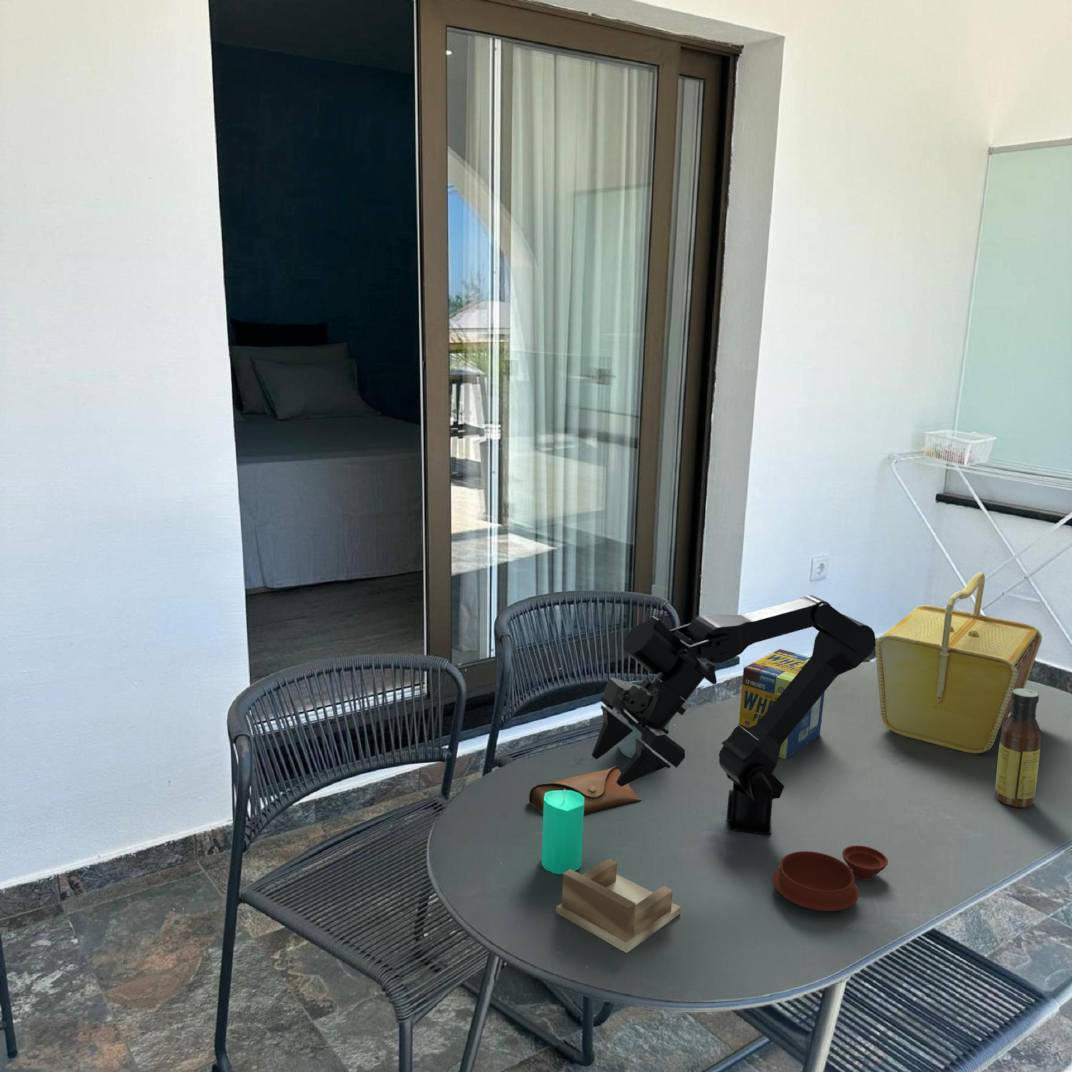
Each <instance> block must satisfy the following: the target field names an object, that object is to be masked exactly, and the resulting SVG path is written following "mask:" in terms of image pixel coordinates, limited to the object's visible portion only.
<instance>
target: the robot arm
mask: <svg viewBox="0 0 1072 1072" xmlns="http://www.w3.org/2000/svg"><path fill="white" fill-rule="evenodd" d="M810 628H814V629H815V630H816V631H818V633H817V634H816V636H815V638H814V641H813V648H812V654H811V656H810V659H809V660H808V662H807V663H806V664H805V665H804V666H803V668H802V669H801V670H800V671H799V673H798V674H797V675H796V676H795V677H794V679H793V680H792V681H791V682H790V684H789V685H788V686H787V687H786V689H785V690H784V691H783V692H782V693H781V695H780V696H779V697H778V698H777V700H776V701H775V702H774V703H773V704H772V706H771V707H770V708H769V709H768V711H767V712H766V713H765V714H764V715H763V717H762V718H761V719H760V720H759V722H758V723H757V724H756V725H754V726H752V727H750V728H747V729H744V728H743V727H741V726H740V725H739V724H738V725H736V727H735V728H733V730H732V732H731V734H730V735H729V737H727V738H726V739H725V740H723V741H722V742H721V744H722V747H721V748H720V751H719V753H718V757H719V760H718V762H719V766H720V768H721V769H722V770H723V772H725V775H726V777H727V779H729V780H730V781H732V782H733V784H732V789H729V790H728V798H727V799H728V800H727V812H726V820H727V821H729V822H728V828H729V830H732V831H740V832H747V833H753V834H761V835H771V833H772V825H771V824H772V811H773V810H772V809H773V800H774V799H776V800H777V799H780V798H781V796H782V793H783V791H784V789H785V785H784V784H783V783H782V782H781V781H780V780H779V779H778V778H777V777H776V775H774V774H773V773H774V771H775V769H776V768H777V766H778V763H779V758H780V757H779V754H780V748H781V745H782V744H783V742H784V741H785V740H786V739H787V737H788V736H789V735H790V734H791V732H792V731H793V730H794V729H795V727H796V726H797V725H798V724H799V723H800V721H801V720H802V719H803V718H804V716H805V715H806V714H807V713H808V711H809V710H810V709H811V708H812V707H813V705H814V704H815V703H816V702H817V700H818V699H819V698H820V697H821V695H822V694H823V693H824V692H826V691H827V689H828V688H829V687H830V686H831V684H833V682H834V680H835V679H837V677H838V676H840V675H842V674H845V673H847V672H849V671H851V670H855V668H858V667H859V665H861V664H862V663H863V662H864V661H865V660H866V659H867V658H868V657H869V656H870V655H871V654H872V653H873V652H874V650H875V646H876V634H875V631H874V630H873V628H872V627H870V626H869V625H867V624H864V623H863V622H861V621H858V620H856V619H854V618H852V617H850V616H848V615H846V614H843V613H841V612H840V611H839V610H838V609H835V608H834V607H833V606H832V605H831V604H830V603H829V602H828V601H825V600H823V599H821V598H820V597H817V596H815V595H813V594H812V595H811V594H808V595H804V596H801V597H800V598H798V599H794V600H790V601H787V602H784V603H781V604H776V605H773V606H770V607H765V608H761V609H757V610H754V611H750V612H747V613H743V614H735V615H734V614H733V615H732V614H722V613H720V614H719V613H718V614H715V613H714V614H706V615H705V614H704V615H703V614H702V615H699V616H697V617H694V618H692V620H691V621H690V623H687V624H683V625H680V626H678V627H674V628H672V629H668V627H667V626H666V625H665V624H664V623H663V622H662V620H661V619H659V618H657V617H656V616H654V615H653V616H651V617H650V618H649V620H648V621H643V622H641V623H639V624H638V625H636V626H635V627H633V628H631V629H630V630H629V632H628V633H627V635H626V637H625V639H624V642H623V650H624V652H625V653H626V654H627V655H628V656H629V657H631V658H632V659H634V660H635V661H636V662H637V663H638V664H640V666H642V667H643V668H645V669H646V670H647V671H648V672H649V673H651V674H654V675H656V676H655V677H654V678H653V680H652V681H650V680H649V679H648V678H646V679H643V680H642V681H643V682H642V683H641V684H640V685H639V686H638V685H635V684H632V683H630V682H631V681H626V680H622V679H618V678H616V677H609V679H608V682H607V685H606V686H605V689H604V692H603V694H602V695H601V697H600V698H599V701H600V702H601V703H603V705H602V704H601V705H600V709H601V711H602V716H603V717H602V718H603V722H602V724H601V725H602V726H601V729H600V732H599V735H598V738H597V739H596V742H595V745H594V748H593V749H592V753H591V757H592V758H593V759H595V760H599V758H602V757H603V756H604V755H606V754H607V753H608V752H609V751H611V749H613V748H614V747H615V746H617V745H619V742H620V741H621V740H623V739H624V738H625V737H626V736H628V735H629V734H630V733H631V732H632V731H633V730H632V729H631V728H630V727H629V726H628V725H627V724H626V723H627V722H628V723H629V724H630V725H631V726H634V727H635V728H637V729H638V730H639V731H640V732H641V733H642V735H641V739H642V740H643V741H644V742H645V743H646V744H645V745H644V744H643V743H642V742H641V741H639V740H638V739H637V738H636V751H635V754H634V755H633V756H632V758H630V759H629V761H628V762H627V763H626V765H625V767H624V768H623V770H622V771H621V774H620V776H619V778H618V779H617V781H616V783H617V784H618V785H619V786H624V785H626V784H630V783H633V782H635V781H637V780H638V779H641V778H642V777H643V778H644V777H645V776H647V775H650V774H652V773H655V772H656V771H659V770H662V769H665V768H667V770H668V769H670V768H671V767H672V766H673V767H675V768H676V769H678V768H679V766H680V765H681V763H682V762H683V761H684V760H685V759H686V752H685V751H686V749H684V747H682V746H681V745H680V744H679V743H678V742H677V741H676V740H674V739H673V738H671V736H669V735H667V734H669V733H670V731H669V729H668V730H666V729H665V727H666V726H667V724H668V723H669V722H670V723H671V721H672V719H673V718H674V717H675V716H676V714H677V713H678V714H679V715H681V716H683V715H684V714H685V712H686V711H687V710H686V708H685V707H683V705H684V704H685V703H686V701H688V699H689V698H690V697H691V695H692V694H693V693H694V692H695V690H696V689H697V688H698V687H699V685H700V684H701V683H702V682H703V680H704V679H705V680H706V681H708V682H709V683H710V684H712V685H716V684H717V682H718V681H717V675H716V668H717V667H716V665H713V664H723V663H725V662H727V661H729V660H731V659H733V658H736V657H738V656H739V655H742V653H743V652H744V651H745V650H746V649H747V648H748V647H750V646H752V645H753V644H755V643H760V642H763V641H767V640H771V639H774V638H777V637H781V636H785V635H788V634H792V633H795V632H798V631H802V630H806V629H810ZM683 651H685V652H686V653H685V654H683V653H682V652H683ZM700 659H706V660H707V661H706V662H703V661H701V660H700ZM604 705H605V706H604ZM646 726H647V727H646ZM642 727H643V728H642ZM669 763H670V764H671V765H672V766H671V765H670V764H669Z"/></svg>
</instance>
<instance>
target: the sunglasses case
mask: <svg viewBox="0 0 1072 1072" xmlns="http://www.w3.org/2000/svg"><path fill="white" fill-rule="evenodd" d="M621 773H622V771H620V769H619V766H617V765H616V766H613V767H610V768H608V769H603V770H598V771H593V772H588V773H584V774H579V775H576V776H572V777H567V778H564V779H561V780H556V781H552V782H546V783H539V784H537V785H535V786H533V787H532V788H531V789H530V792H529V796H528V797H529V798H528V799H529V804H530V803H532V804H533V805H532V804H531V805H532V806H533V807H534V806H535V807H536V808H538V809H537V810H538V811H539V810H540V811H542V812H543V809H544V796H545V793H547V792H550V791H558V790H564V789H565V790H572V791H574V792H577V793H580V794H581V795H582V796H583V797H584V815H586V814H585V813H588V814H590V813H589V812H591V813H594V812H593V811H595V812H598V811H597V810H599V811H602V810H606V809H605V808H607V809H610V807H611V808H613V807H618V806H621V805H627V804H631V803H637V802H640V801H642V798H640V797H639V796H637V795H636V793H635V791H634V790H633V788H632V787H631V786H630V783H628V784H626V785H624V786H619V785H618V784H617V783H616V781H617V779H618V778H619V776H620V774H621ZM535 807H534V808H535ZM536 808H535V809H536ZM540 811H539V812H540ZM542 812H541V813H542Z"/></svg>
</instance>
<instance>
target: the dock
mask: <svg viewBox="0 0 1072 1072" xmlns="http://www.w3.org/2000/svg"><path fill="white" fill-rule="evenodd" d="M617 867H618V861H615V860H613V859H611V858H607V859H605V860H603V861H601V862H599V863H598V864H596V865H595V866H594V867H592V868H590V869H589V870H587V871H586V872H584V873H582V874H581V873H579V872H577V871H576V872H575V871H573V870H572V869H569V870H568V871H566V872H564V873H563V874H562V891H561V903H560V904H558V905H556V909H555V912H556V914H557V915H559V916H561V917H563V918H565V919H566V920H568V921H570V922H571V923H573V924H575V925H577V926H579V927H580V928H582V929H583V930H586V931H587V932H589V933H591V934H592V935H594V936H596V937H598V938H599V939H601V940H603V941H604V942H607V943H608V944H610V945H612V946H613V947H615V948H617V949H618V950H620V951H623V952H624V953H625V954H628V953H629V952H630V951H631V950H633V949H635V948H636V947H637V946H638V945H640V944H641V943H643V942H644V941H646V940H647V939H648V938H649V937H651V936H652V935H653V934H655V933H656V932H657V931H658V930H660V929H661V928H662V927H664V926H665V925H667V924H668V923H669V922H671V921H673V920H674V919H675V918H676V917H677V916H679V915H680V914H681V908H682V907H681V906H680V905H678V904H675V903H673V893H674V891H673V889H671V888H669V887H667V886H666V885H662V886H661V887H659V888H658V889H657V890H655V891H654V892H652V891H650V890H649V889H646V888H644V887H643V886H640V885H639V884H637V883H634V882H633V881H631V880H628V879H627V878H625V877H623V876H622V875H621V876H620V875H619V874H617V871H618V868H617Z"/></svg>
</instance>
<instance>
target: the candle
mask: <svg viewBox="0 0 1072 1072" xmlns="http://www.w3.org/2000/svg"><path fill="white" fill-rule="evenodd" d="M584 816H585V814H584V797H583V796H582V795H581V794H580V793H577V792H574V791H572V790H565V789H564V790H558V791H550V792H547V793H545V796H544V809H543V813H542V837H541V838H542V840H541V863H540V864H541V866H542V867H543V868H544V870H545V871H548V872H550V871H551V873H552V874H555V873H556V874H557V875H563V873H564V872H566V871H568V870H569V869H572V870H573V871H576V870H577V871H579V868H580V869H581V867H582V858H583V857H582V856H583V855H582V854H583V835H584V834H583V833H584ZM577 871H576V872H577ZM556 874H555V875H556Z"/></svg>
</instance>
